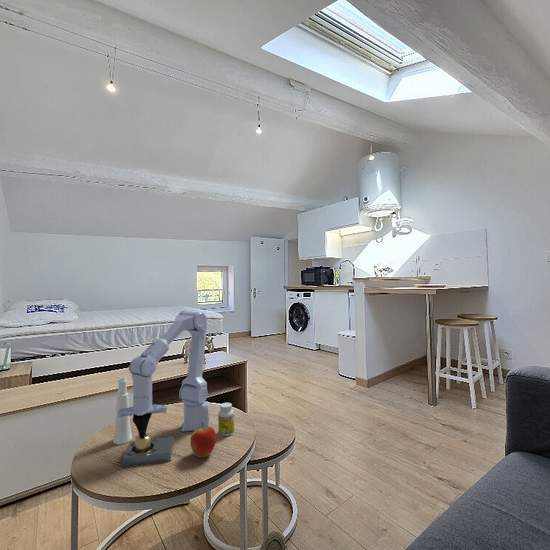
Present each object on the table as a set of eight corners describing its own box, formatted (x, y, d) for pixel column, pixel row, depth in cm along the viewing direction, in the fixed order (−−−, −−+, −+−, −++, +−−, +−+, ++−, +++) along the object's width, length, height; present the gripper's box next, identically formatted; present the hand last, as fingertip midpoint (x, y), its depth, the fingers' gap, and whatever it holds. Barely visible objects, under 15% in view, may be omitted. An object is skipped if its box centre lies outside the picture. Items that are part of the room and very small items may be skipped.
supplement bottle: (236, 430, 117) (236, 402, 117) (230, 437, 112) (229, 408, 112) (222, 428, 119) (222, 400, 119) (215, 435, 113) (215, 406, 113)
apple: (193, 465, 95) (192, 431, 96) (188, 451, 103) (188, 421, 103) (219, 458, 99) (218, 426, 99) (212, 445, 106) (212, 416, 106)
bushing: (151, 450, 104) (151, 432, 104) (149, 458, 99) (149, 439, 99) (137, 452, 103) (137, 433, 103) (133, 460, 98) (133, 440, 98)
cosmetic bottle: (109, 442, 109) (108, 378, 109) (124, 434, 115) (124, 373, 115) (121, 446, 106) (120, 381, 107) (135, 438, 112) (135, 376, 112)
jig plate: (173, 444, 108) (173, 436, 108) (170, 460, 98) (170, 452, 98) (130, 448, 105) (130, 441, 105) (121, 466, 95) (121, 458, 95)
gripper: (114, 401, 96) (114, 445, 95) (164, 397, 99) (164, 440, 98) (120, 392, 102) (121, 434, 102) (167, 389, 105) (167, 429, 105)
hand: (142, 436), depth 101 cm, fingers closed, pressing on bushing
